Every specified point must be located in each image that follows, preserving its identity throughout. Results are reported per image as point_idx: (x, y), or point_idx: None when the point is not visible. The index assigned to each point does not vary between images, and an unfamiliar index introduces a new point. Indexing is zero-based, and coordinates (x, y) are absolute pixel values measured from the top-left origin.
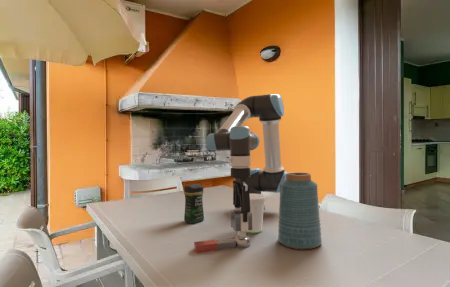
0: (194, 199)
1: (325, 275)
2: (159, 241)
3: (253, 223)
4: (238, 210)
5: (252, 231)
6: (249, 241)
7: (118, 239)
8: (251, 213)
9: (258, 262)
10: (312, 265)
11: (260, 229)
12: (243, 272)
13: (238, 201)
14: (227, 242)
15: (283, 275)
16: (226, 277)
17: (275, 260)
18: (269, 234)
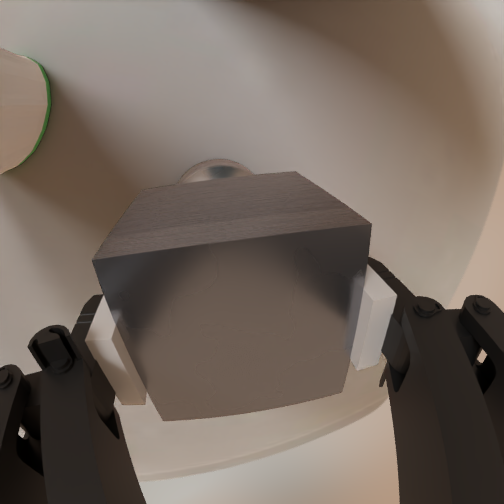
0: None
1: (500, 44)
2: (149, 445)
3: (19, 109)
4: (166, 368)
5: (43, 115)
6: (244, 169)
7: (141, 481)
8: (370, 231)
9: (416, 181)
10: (463, 24)
11: (32, 62)
12: (443, 249)
13: (119, 468)
14: None
15: (488, 143)
16: (439, 295)
17: (421, 109)
18: (83, 15)
